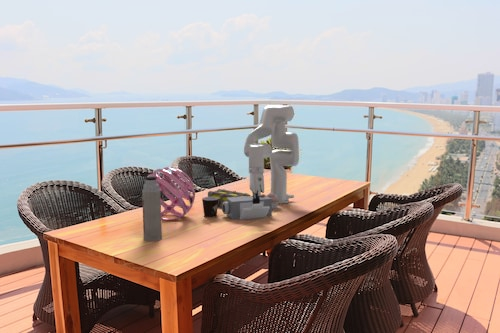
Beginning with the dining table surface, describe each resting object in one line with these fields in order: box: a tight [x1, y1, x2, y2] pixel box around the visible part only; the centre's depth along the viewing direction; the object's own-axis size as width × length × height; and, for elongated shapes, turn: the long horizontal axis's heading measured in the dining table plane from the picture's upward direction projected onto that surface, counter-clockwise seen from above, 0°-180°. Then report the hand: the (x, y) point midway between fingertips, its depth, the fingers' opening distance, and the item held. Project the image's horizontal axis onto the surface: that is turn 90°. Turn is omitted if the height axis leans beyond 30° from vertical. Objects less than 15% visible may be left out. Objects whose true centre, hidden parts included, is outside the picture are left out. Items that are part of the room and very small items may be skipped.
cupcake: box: [265, 191, 279, 210], centre depth 264 cm, size 9×9×10 cm
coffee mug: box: [201, 196, 221, 219], centre depth 247 cm, size 12×9×10 cm
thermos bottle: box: [141, 176, 163, 242], centre depth 208 cm, size 8×8×28 cm
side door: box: [238, 203, 270, 221], centre depth 238 cm, size 14×1×13 cm
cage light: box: [207, 188, 252, 209], centre depth 273 cm, size 15×8×30 cm
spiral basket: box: [144, 166, 196, 222], centre depth 243 cm, size 28×28×27 cm
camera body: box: [221, 193, 273, 220], centre depth 246 cm, size 25×10×11 cm, turn 108°
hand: (256, 205), depth 236 cm, fingers closed
